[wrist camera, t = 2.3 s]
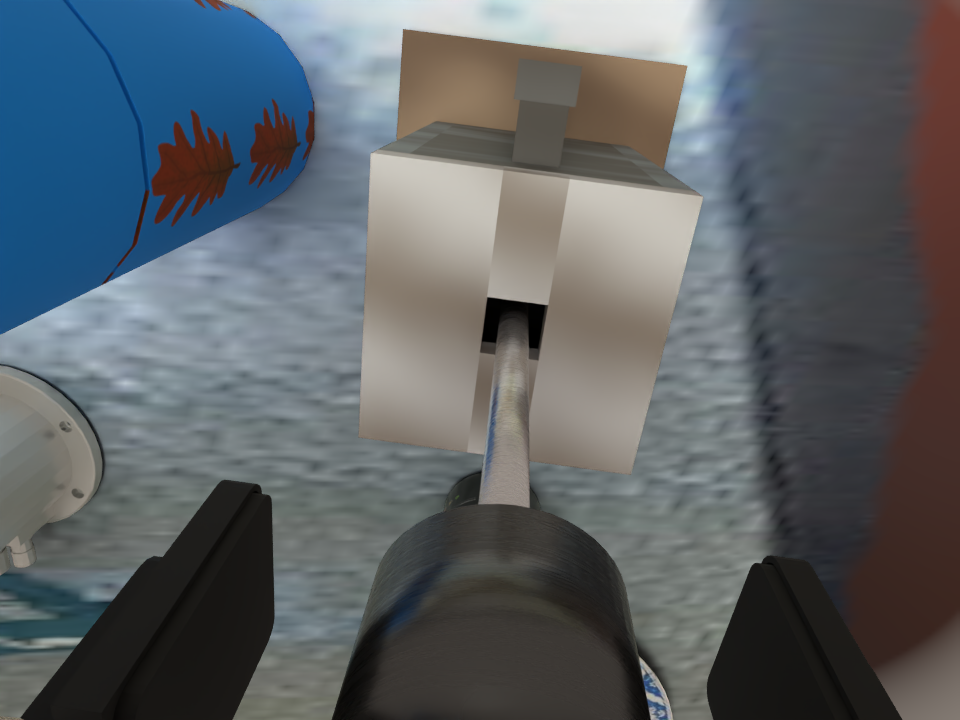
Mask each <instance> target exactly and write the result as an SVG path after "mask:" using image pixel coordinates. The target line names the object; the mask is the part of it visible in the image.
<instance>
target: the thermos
mask: <svg viewBox="0 0 960 720" xmlns="http://www.w3.org/2000/svg"><path fill="white" fill-rule="evenodd" d="M313 140H314V101H313V98H312V95H311V92H310V89H309V86H308V83H307V80H306V77H305V74H304V71H303V68H302V66H301V65H300V63H299V62H298V60H297V59H296V58H295V56H294V55H293V53H292V52H291V51H290V49H289V48H288V46H287V45H286V44H285V42H284V41H283V39H282V38H281V37H280V35H279V34H277V33H276V32H275V31H273V30H272V29H271V28H269V27H268V26H267V25H265V24H264V23H263V22H261V21H260V20H259V19H257V18H256V17H255V16H253V15H252V14H251V13H249V12H247V11H245V10H242V9H240V8H237V7H235V6H232V5H229V4H227V3H224V2H222V1H219V0H0V334H3V333H5V332H7V331H9V330H11V329H13V328H15V327H17V326H19V325H21V324H23V323H25V322H27V321H29V320H31V319H33V318H35V317H37V316H39V315H41V314H43V313H45V312H48V311H50V310H52V309H54V308H56V307H58V306H60V305H62V304H64V303H66V302H68V301H70V300H72V299H74V298H76V297H78V296H80V295H82V294H84V293H86V292H88V291H90V290H92V289H95V288H97V287H99V286H101V285H103V284H105V283H107V282H109V281H111V280H113V279H115V278H117V277H119V276H121V275H123V274H125V273H127V272H129V271H131V270H133V269H135V268H137V267H140V266H142V265H144V264H146V263H148V262H150V261H152V260H154V259H156V258H158V257H160V256H162V255H164V254H166V253H168V252H170V251H172V250H174V249H176V248H178V247H180V246H182V245H184V244H187V243H189V242H191V241H193V240H195V239H197V238H199V237H201V236H203V235H205V234H207V233H209V232H211V231H213V230H215V229H217V228H219V227H221V226H223V225H225V224H227V223H229V222H232V221H234V220H236V219H238V218H240V217H242V216H244V215H246V214H248V213H250V212H252V211H254V210H256V209H258V208H260V207H262V206H263V205H265V204H266V203H268V202H269V201H271V200H272V199H274V198H275V197H277V196H278V195H280V194H281V193H282V192H284V191H285V190H286V189H287V187H288V186H289V185H290V184H291V183H292V182H293V181H294V179H295V178H296V177H297V176H298V175H299V174H300V172H301V171H302V170H303V169H304V167H305V164H306V161H307V158H308V155H309V152H310V149H311V146H312V143H313Z"/></svg>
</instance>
